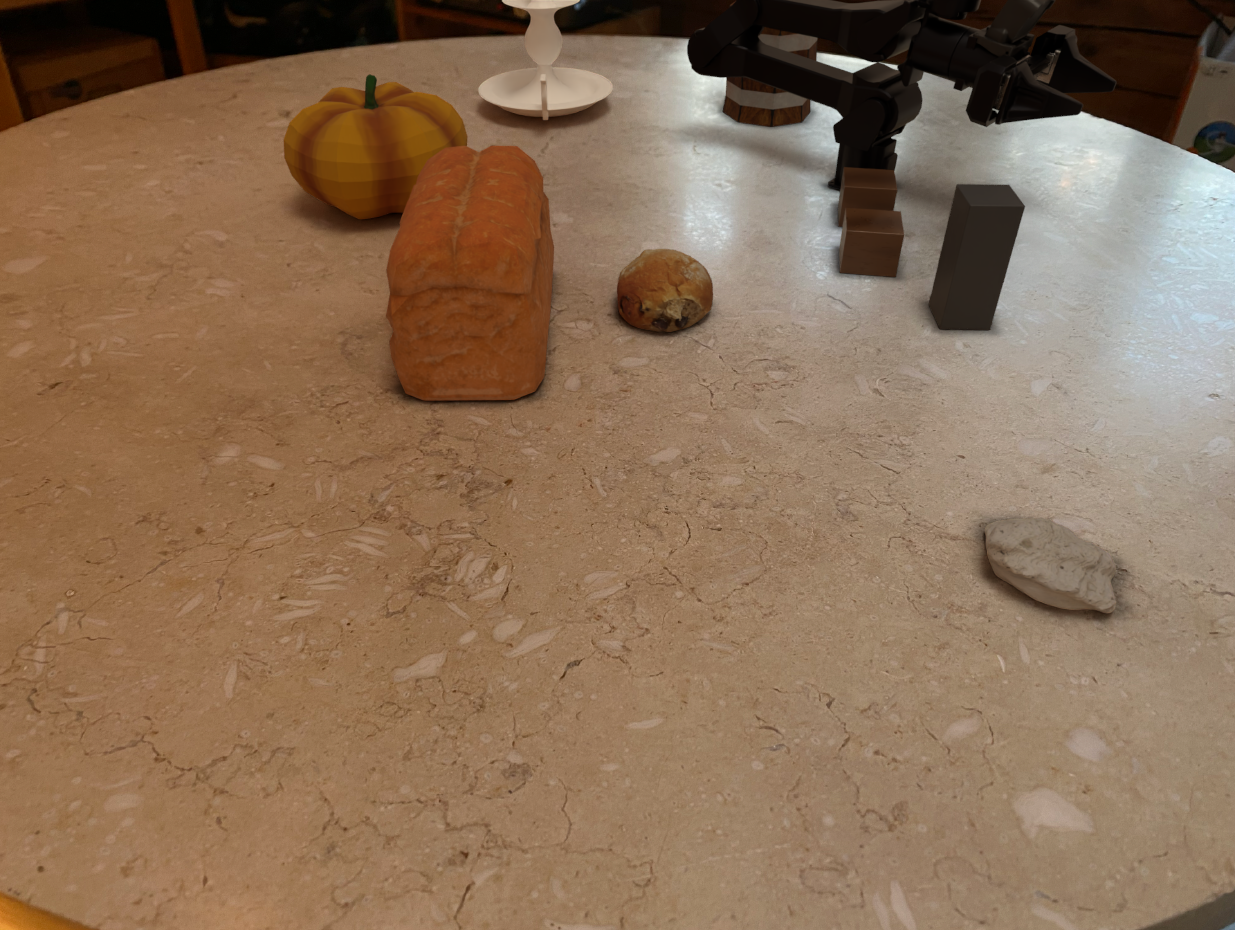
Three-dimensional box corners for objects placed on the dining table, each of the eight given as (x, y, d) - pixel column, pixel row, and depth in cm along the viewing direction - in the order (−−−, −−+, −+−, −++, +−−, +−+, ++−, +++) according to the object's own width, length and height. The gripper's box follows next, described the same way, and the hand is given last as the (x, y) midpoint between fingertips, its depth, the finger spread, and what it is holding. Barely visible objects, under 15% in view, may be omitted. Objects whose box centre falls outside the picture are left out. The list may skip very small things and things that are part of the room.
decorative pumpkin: (292, 181, 123) (265, 62, 114) (458, 161, 129) (445, 45, 119) (301, 246, 108) (271, 115, 99) (489, 220, 114) (477, 93, 104)
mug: (817, 127, 139) (831, 17, 129) (725, 127, 139) (733, 17, 129) (798, 85, 154) (810, -15, 145) (716, 85, 154) (722, -15, 145)
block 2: (839, 248, 107) (845, 207, 104) (892, 252, 107) (900, 211, 103) (839, 273, 103) (846, 230, 100) (895, 277, 102) (904, 234, 99)
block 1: (837, 206, 117) (843, 167, 113) (887, 209, 116) (894, 170, 113) (838, 226, 112) (844, 186, 109) (889, 230, 111) (897, 189, 108)
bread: (390, 404, 84) (360, 248, 74) (432, 265, 104) (413, 129, 95) (547, 402, 84) (537, 246, 74) (557, 264, 105) (551, 128, 95)
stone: (1169, 592, 62) (1038, 576, 60) (1129, 637, 65) (1002, 623, 63) (1099, 492, 70) (980, 475, 68) (1066, 536, 73) (951, 521, 71)
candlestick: (473, 143, 134) (451, -81, 116) (484, 88, 153) (466, -111, 136) (617, 140, 135) (617, -83, 117) (609, 86, 154) (608, -113, 136)
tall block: (928, 304, 97) (956, 183, 89) (976, 305, 97) (1009, 184, 89) (939, 329, 93) (970, 205, 85) (990, 330, 93) (1025, 205, 85)
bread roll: (715, 332, 100) (728, 256, 98) (694, 340, 90) (708, 256, 88) (627, 317, 102) (638, 243, 100) (598, 323, 93) (608, 241, 91)
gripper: (944, -6, 94) (1095, 37, 87) (1023, -39, 105) (1163, -3, 98) (914, 104, 102) (1051, 152, 95) (990, 63, 113) (1118, 103, 105)
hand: (1098, 97), depth 98 cm, fingers open, 9 cm apart
